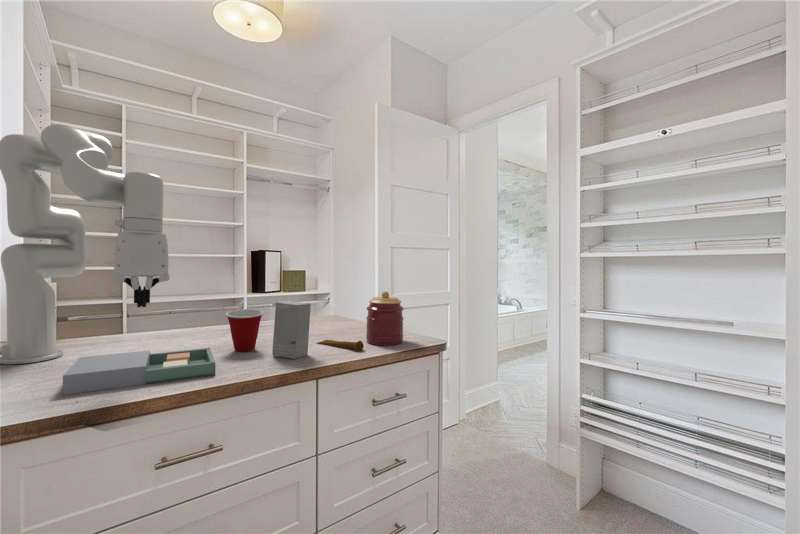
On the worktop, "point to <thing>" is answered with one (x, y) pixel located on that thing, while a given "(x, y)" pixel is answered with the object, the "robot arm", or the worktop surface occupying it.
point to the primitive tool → (344, 344)
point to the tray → (198, 367)
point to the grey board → (106, 372)
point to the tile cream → (175, 363)
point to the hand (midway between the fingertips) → (141, 306)
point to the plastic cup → (244, 328)
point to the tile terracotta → (179, 357)
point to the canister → (384, 320)
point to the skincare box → (291, 329)
